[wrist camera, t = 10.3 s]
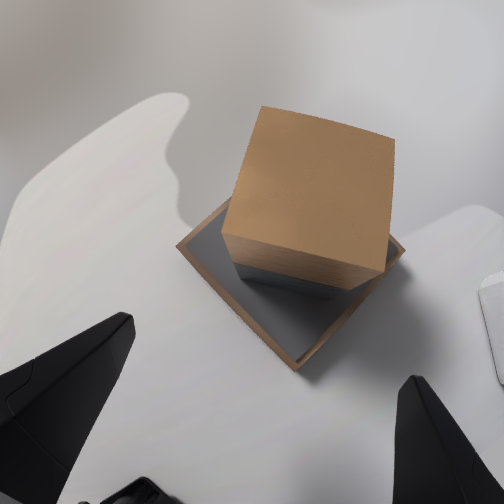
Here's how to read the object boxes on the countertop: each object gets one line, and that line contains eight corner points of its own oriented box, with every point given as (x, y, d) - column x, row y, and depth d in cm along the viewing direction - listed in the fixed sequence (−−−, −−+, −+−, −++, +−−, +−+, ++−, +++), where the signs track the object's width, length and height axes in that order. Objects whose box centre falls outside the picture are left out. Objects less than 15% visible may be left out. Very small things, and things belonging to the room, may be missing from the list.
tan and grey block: (328, 300, 18) (384, 272, 10) (240, 279, 19) (221, 232, 10) (344, 217, 20) (394, 139, 11) (262, 197, 20) (261, 105, 11)
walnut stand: (291, 368, 20) (294, 372, 17) (183, 254, 22) (174, 245, 19) (393, 257, 21) (407, 249, 19) (289, 161, 24) (292, 143, 21)
